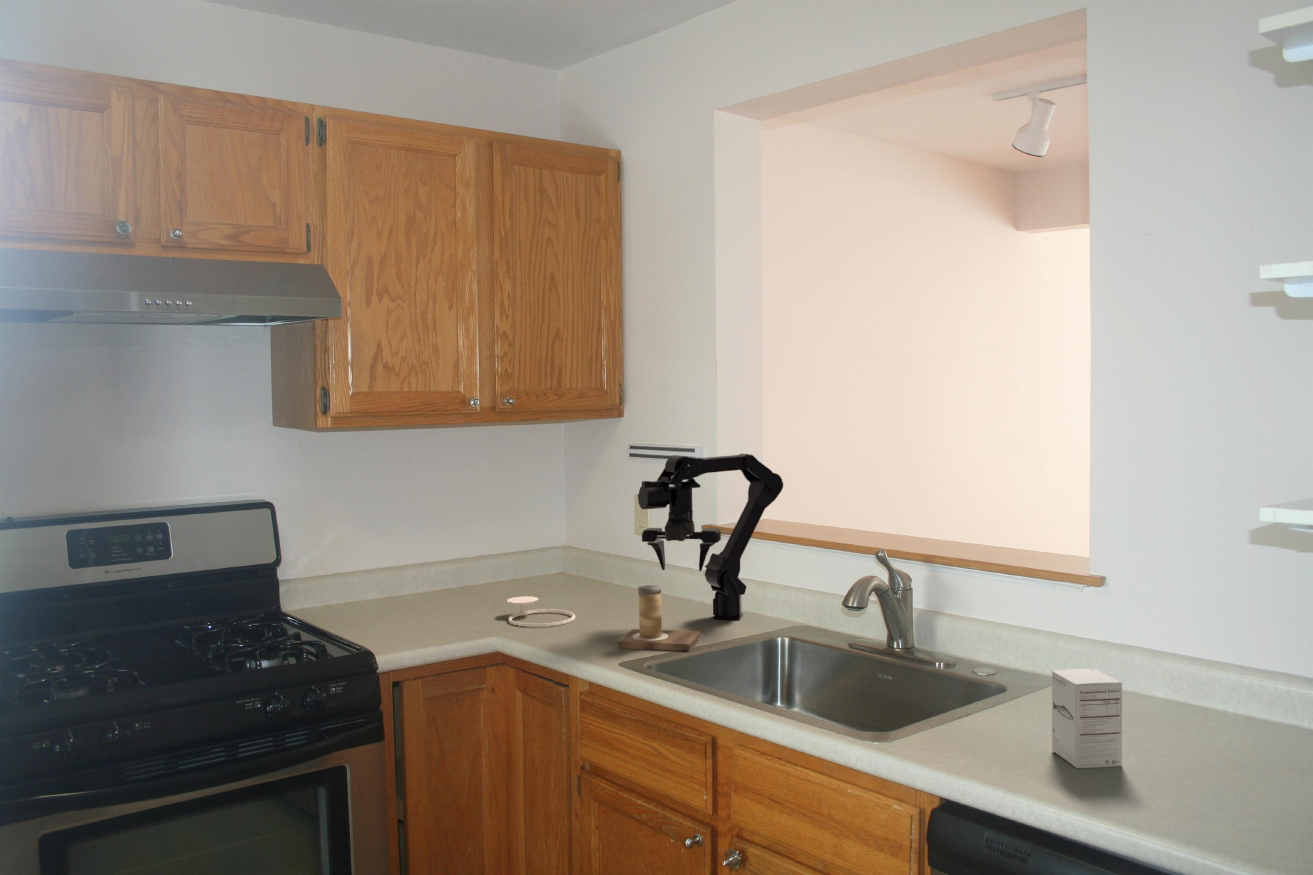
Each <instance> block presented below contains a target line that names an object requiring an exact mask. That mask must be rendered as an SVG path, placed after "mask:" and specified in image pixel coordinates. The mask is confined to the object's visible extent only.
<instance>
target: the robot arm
mask: <svg viewBox="0 0 1313 875" xmlns="http://www.w3.org/2000/svg"><path fill="white" fill-rule="evenodd" d="M733 471H740V472H741V473H742V476H743V477H744V478H745V479H746V480H747V481H748V483H749V485H748V489H747V502H746V504H745V506H744V508H743V510H742V512H741V513H740V516H739V517H738V520H737V521H736V524H735V526H734V528H733V530H732V532H731V534H730V536H729V538H728V540H727V542H726V544H725V546H724V547H723V549H722V551H720V553H718V554H717V553H714V552H713V553H712V554H711V555H710V557H709V560H708V562H707V564H706V565H705V566H704V564H705V561H706V558H707V555H708V552H709V550H710V548H711V547H713V546H714V545H715V544H717V543H719V542H720V541H721V540H722V539H721V538H722V537H721V536H722V532H721V530H720V529H719V528H703V529H702V530H701V531H695V522H694V519H693V514H694V510H693V489H699V488H701V484H699V483H698V482H697V481H696V480H695V478H698V477H700V476H702V475H704V474H710V473H711V474H713V473H718V472H719V473H720V472H733ZM783 488H784V482H783V479H782V477H781V476H780V474H778V473H776V472H773V471H772V470H771V469H770V468H769V467H767V466H766V465H765V464H763V463H762V462H761V461H759V460H758V459H757V457H755V456H754V455H753V454H751V453H739V454H734V455H733V454H731V455H721V456H720V455H719V456H710V457H694V456H685V455H677V454H676V455H671V456H669V457H668V458H667V460H666V462H665V465H664V468H663V470H662V472H661V473H660V475H659V476H658V478H657V479H656V480H653V481H652V480H651V481H649V480H642V481H641V486H640V487H639V491H638V494H637V500H638V501H637V502H638V505H639V507H640V508H641V510H654V509H666V508H667V506H668V518H667V521H666V523H665V526H664V530H663V528H662V527H647V528H646V529H644V530H643V531H642V533H641V542H644V543H646V544H647V546H651V548H652V549H653V550H654V552H655V554H656V556H657V559H658V561H659V564H660V567H661V570H662V571H665V569H666V555H665V541H667V542H671V541H678V542H684V541H686V540H700V541H702V542H701V543H699V560H698V571H699V572H702V570H703V567H704V569H705V572H704V577H705V580H706V582H707V583H708V584H709V586H710V588H711V590H712V591H713V592H715V593H714V597H713V599H712V615H713V619H714V620H737V621H738V620H741V618H742V617H743V615H744V612H743V611H742V609H743V608H742V607H743V606H742V604H743V603H742V596H743V595H745V593H746V590H747V585H746V584H745V583H744V582H743V581H742V580H740V578H739V575H740V572H741V559H742V556H743V554H744V552H745V551H746V548H747V546H748V544H749V542H750V541H751V538H752V536H753V535H754V531H755V530H756V528H757V526H758V524H759V522H760V520H761V517H762V516H763V514H764V512H765V510H766V509H767V508H768V507H769V506H770V505H772V503H773V502H774V501H776V499H777V498H778V497H779V495H780V494H781V493H782V490H783Z"/></svg>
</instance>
